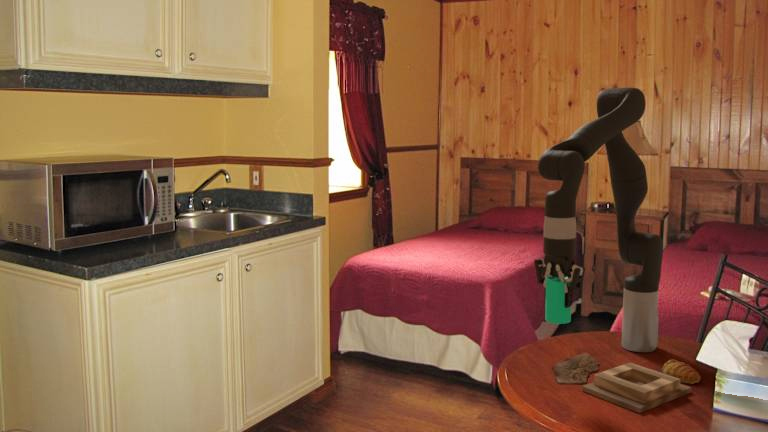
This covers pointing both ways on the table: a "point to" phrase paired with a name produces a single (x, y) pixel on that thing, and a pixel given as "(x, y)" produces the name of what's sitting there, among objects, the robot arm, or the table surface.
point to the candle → (556, 302)
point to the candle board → (630, 401)
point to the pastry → (681, 371)
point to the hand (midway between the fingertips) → (558, 304)
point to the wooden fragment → (575, 369)
